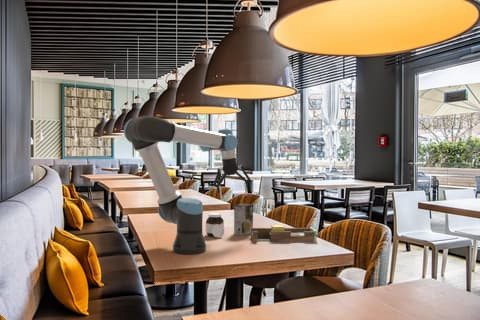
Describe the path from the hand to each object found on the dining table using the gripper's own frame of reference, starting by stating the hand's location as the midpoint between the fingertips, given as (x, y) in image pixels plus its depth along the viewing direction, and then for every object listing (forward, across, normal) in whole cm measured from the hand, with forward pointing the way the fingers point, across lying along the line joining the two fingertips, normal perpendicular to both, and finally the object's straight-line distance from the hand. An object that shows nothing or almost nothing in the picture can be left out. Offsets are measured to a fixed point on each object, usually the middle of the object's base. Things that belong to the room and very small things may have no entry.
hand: (233, 196), depth 220 cm
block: (+20, -19, +12) cm, 30 cm away
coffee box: (+22, -3, -4) cm, 23 cm away
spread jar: (+20, +12, +2) cm, 23 cm away
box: (+24, -22, +12) cm, 34 cm away
